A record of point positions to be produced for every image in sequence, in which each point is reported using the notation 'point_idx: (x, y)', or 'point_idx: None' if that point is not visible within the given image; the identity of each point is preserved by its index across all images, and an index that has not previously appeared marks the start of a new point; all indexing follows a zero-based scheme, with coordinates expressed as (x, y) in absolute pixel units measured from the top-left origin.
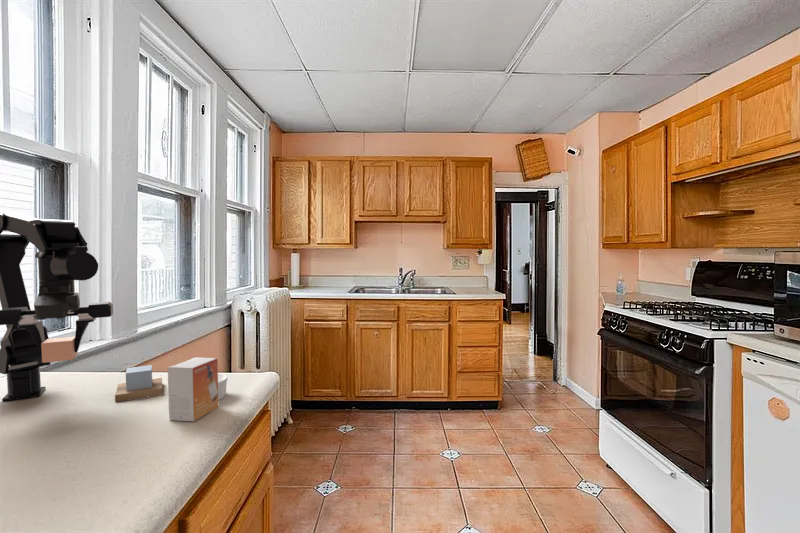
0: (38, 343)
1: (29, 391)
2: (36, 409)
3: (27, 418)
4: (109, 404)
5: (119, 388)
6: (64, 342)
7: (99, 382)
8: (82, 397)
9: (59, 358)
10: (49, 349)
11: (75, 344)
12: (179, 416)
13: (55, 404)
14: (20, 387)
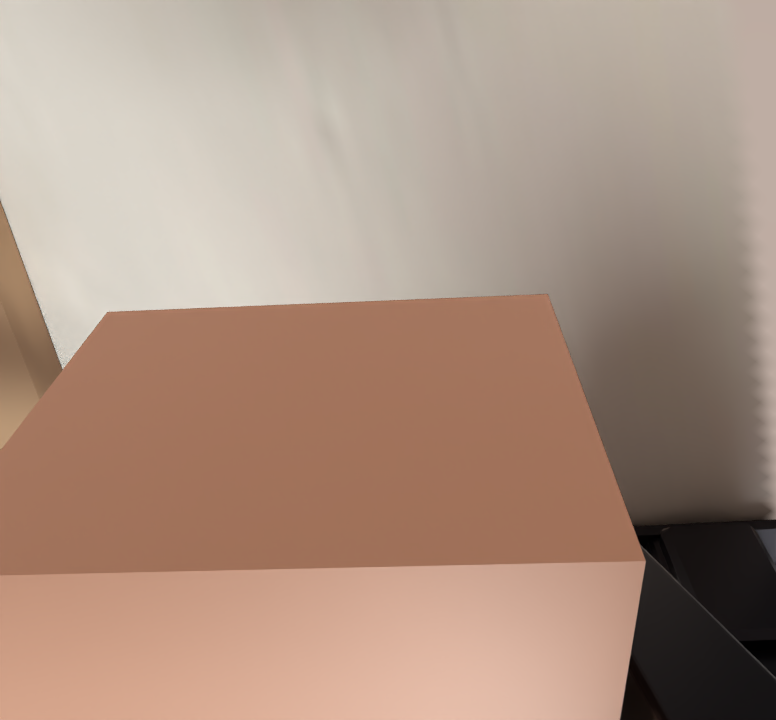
0: (716, 668)
1: (661, 558)
2: (559, 244)
3: (582, 15)
4: (6, 102)
5: (3, 355)
6: (94, 545)
7: None
8: None
9: (290, 327)
10: (442, 438)
11: None
12: None
13: None
14: (727, 576)
